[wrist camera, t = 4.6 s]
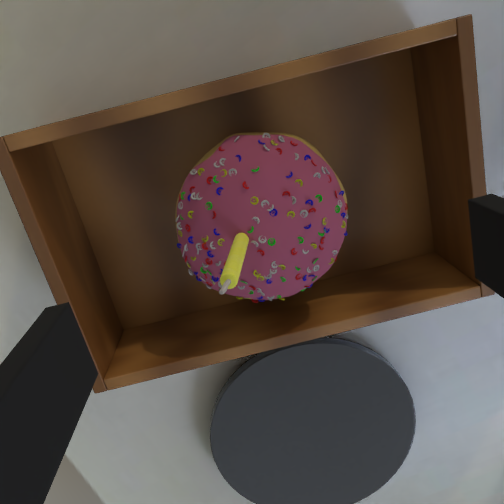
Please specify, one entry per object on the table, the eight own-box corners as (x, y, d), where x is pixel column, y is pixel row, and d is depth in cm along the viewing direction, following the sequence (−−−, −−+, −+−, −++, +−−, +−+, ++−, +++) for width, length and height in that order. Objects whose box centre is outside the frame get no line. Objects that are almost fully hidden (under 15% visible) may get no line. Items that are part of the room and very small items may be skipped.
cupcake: (210, 285, 29) (203, 409, 18) (158, 152, 26) (112, 198, 15) (343, 242, 29) (424, 340, 17) (305, 102, 26) (372, 111, 15)
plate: (185, 362, 31) (184, 373, 30) (393, 310, 31) (401, 319, 30) (238, 518, 36) (239, 533, 34) (420, 474, 35) (427, 488, 34)
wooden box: (117, 339, 30) (94, 394, 25) (36, 130, 26) (-14, 140, 20) (444, 257, 30) (495, 294, 24) (418, 30, 25) (472, 13, 20)
